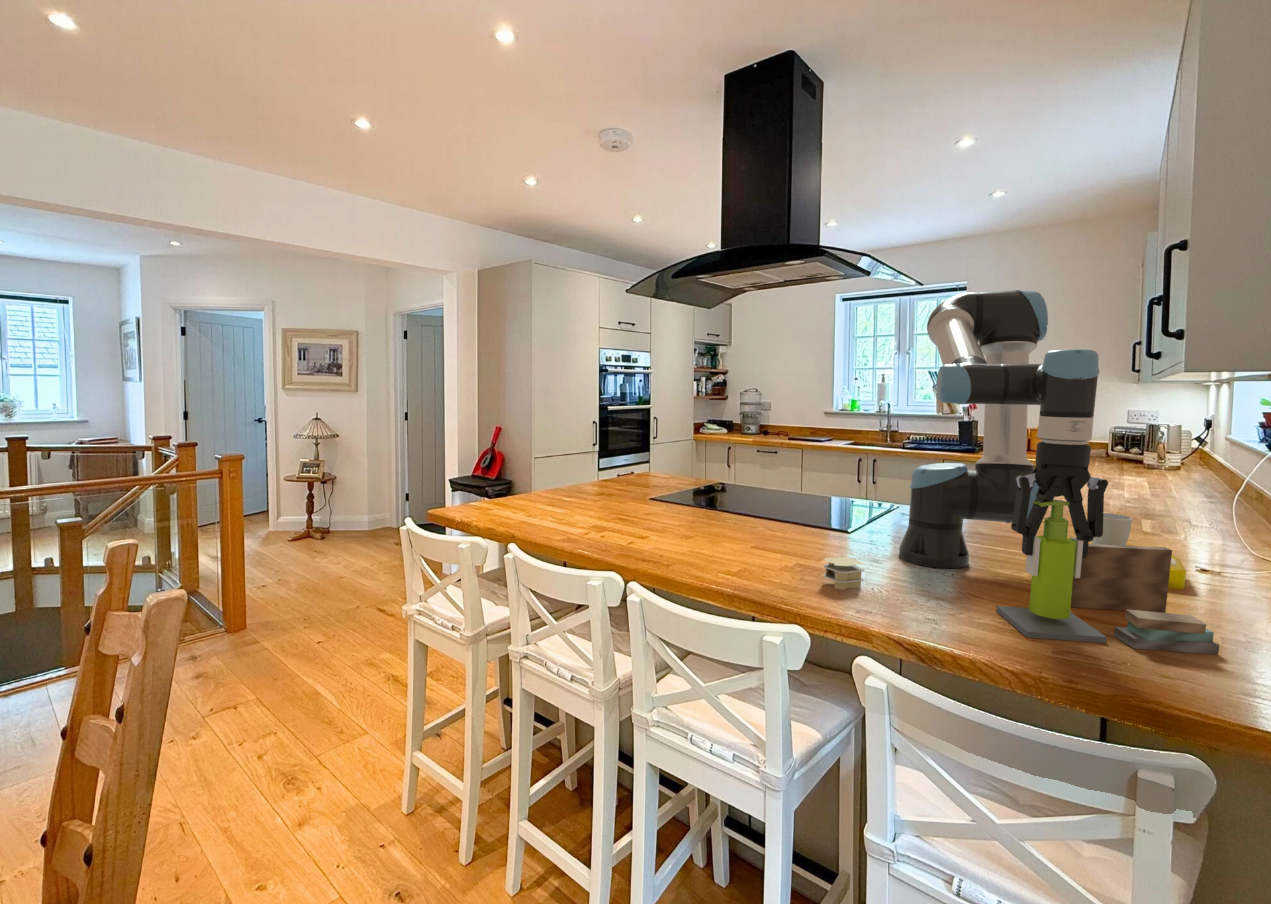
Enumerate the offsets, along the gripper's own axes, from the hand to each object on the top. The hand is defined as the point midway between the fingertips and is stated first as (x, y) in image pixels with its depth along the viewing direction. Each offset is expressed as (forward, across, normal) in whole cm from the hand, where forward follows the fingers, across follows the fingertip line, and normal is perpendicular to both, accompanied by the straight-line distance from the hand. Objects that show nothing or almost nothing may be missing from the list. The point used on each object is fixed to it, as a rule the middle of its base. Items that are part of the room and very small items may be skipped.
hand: (1052, 574), depth 105 cm
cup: (+10, +38, +53) cm, 66 cm away
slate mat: (+9, 0, 0) cm, 9 cm away
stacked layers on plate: (+10, -32, +16) cm, 37 cm away
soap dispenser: (+7, 0, 0) cm, 7 cm away
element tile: (+10, +35, +36) cm, 51 cm away
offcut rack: (+9, +17, +4) cm, 20 cm away
